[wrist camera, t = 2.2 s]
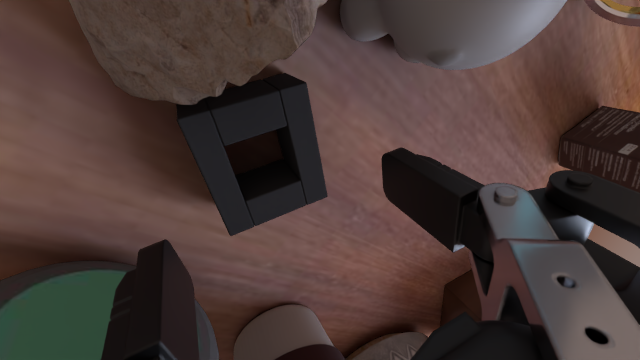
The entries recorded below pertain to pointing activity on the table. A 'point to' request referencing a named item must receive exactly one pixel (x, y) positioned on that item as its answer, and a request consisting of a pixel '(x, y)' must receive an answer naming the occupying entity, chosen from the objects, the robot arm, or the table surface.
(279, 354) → the coffee cup
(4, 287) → the headphones
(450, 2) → the chubby cartoon animal
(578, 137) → the box
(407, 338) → the planter
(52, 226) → the table surface
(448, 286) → the stand
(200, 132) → the top pad
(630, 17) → the ring
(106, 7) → the stone
